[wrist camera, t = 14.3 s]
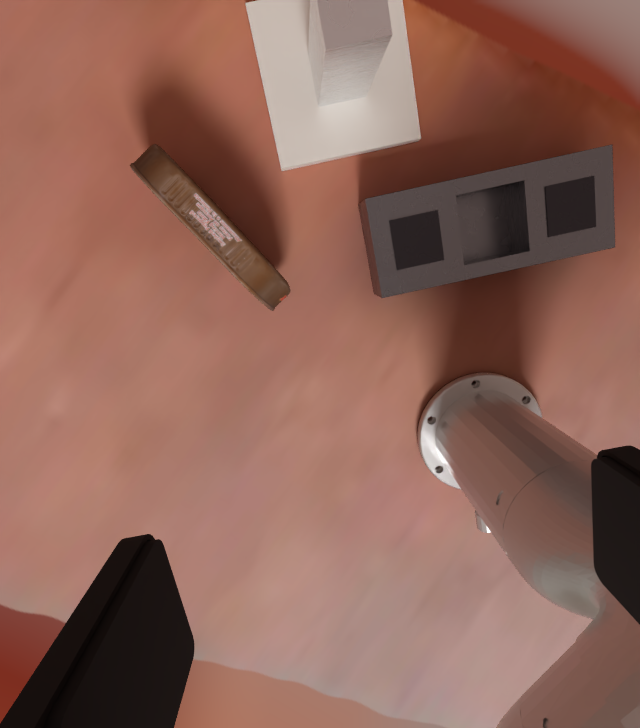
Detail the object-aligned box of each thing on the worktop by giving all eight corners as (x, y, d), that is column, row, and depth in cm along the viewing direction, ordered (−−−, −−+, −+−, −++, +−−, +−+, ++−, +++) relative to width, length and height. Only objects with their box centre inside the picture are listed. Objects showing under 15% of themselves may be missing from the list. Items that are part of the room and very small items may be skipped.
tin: (149, 179, 36) (106, 157, 28) (174, 152, 36) (137, 122, 28) (273, 307, 39) (266, 321, 31) (297, 284, 39) (297, 292, 31)
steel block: (366, 96, 34) (392, 34, 25) (318, 107, 34) (325, 49, 25) (357, 40, 33) (381, -47, 24) (307, 51, 33) (311, -32, 24)
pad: (417, 141, 36) (421, 138, 35) (281, 171, 36) (281, 169, 35) (395, -23, 33) (398, -32, 32) (246, 10, 33) (245, 3, 32)
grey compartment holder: (584, 248, 39) (616, 247, 35) (374, 293, 39) (382, 298, 35) (579, 156, 37) (613, 144, 33) (358, 204, 37) (365, 198, 33)
